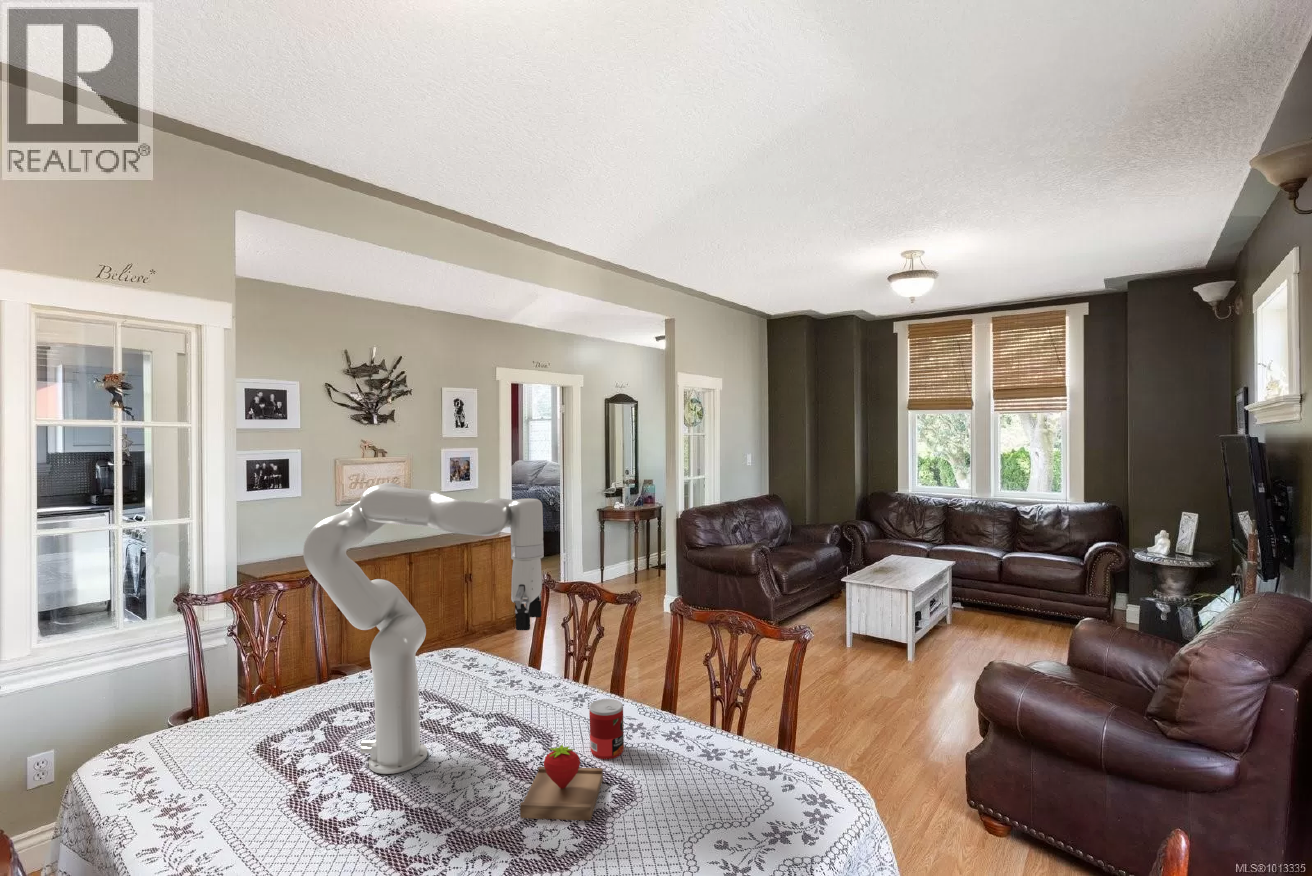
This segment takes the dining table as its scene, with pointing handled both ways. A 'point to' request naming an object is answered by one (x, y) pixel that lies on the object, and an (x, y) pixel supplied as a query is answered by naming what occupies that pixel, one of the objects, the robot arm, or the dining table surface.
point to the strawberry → (561, 765)
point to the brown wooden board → (563, 796)
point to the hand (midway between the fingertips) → (529, 623)
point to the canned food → (606, 728)
